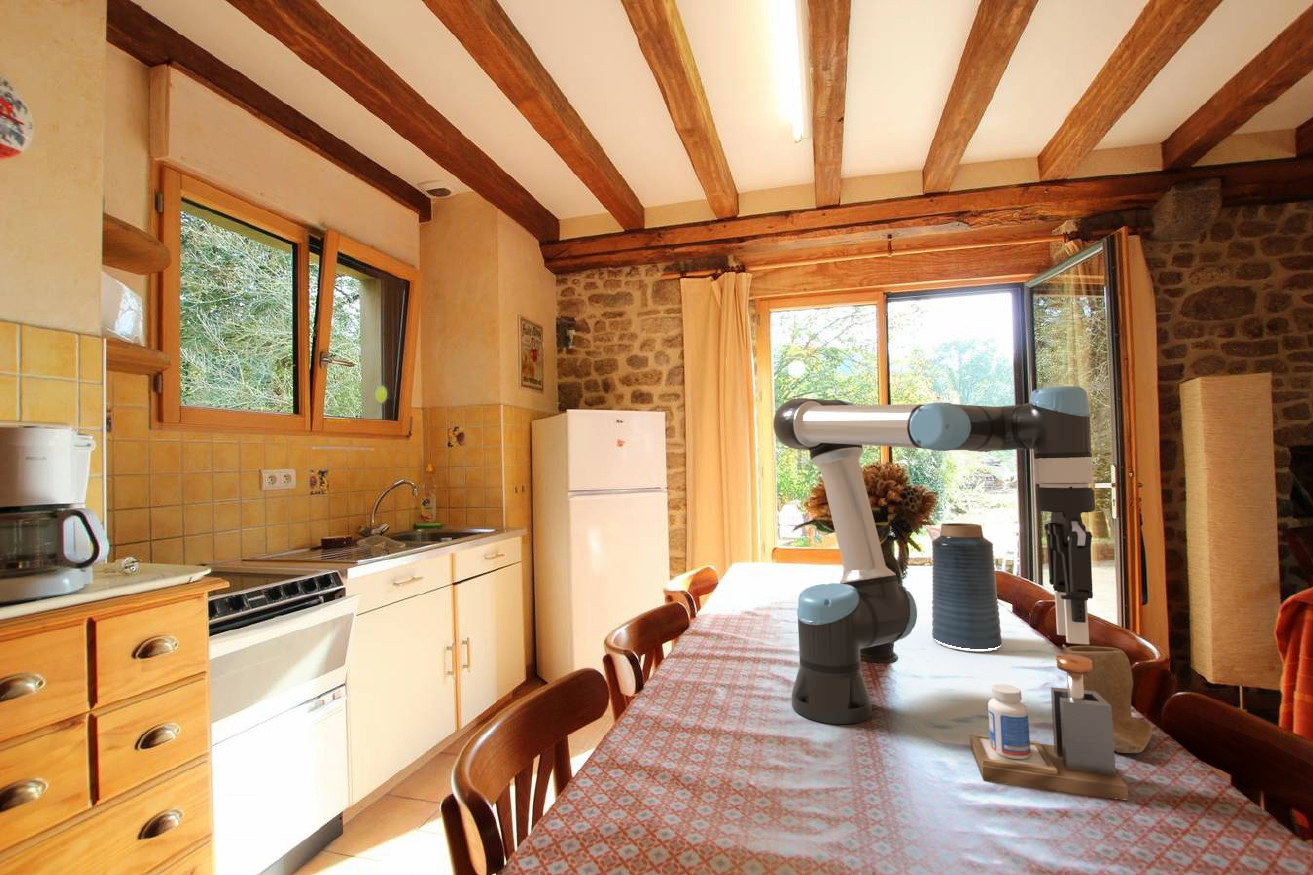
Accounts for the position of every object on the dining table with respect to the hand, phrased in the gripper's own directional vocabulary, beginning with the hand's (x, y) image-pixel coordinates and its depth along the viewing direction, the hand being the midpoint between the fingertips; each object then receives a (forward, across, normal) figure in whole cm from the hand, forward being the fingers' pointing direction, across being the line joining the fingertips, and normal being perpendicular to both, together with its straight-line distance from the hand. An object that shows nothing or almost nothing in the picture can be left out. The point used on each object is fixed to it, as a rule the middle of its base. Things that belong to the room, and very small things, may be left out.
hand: (1072, 638), depth 89 cm
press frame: (+19, 0, 0) cm, 19 cm away
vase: (+21, +69, +5) cm, 72 cm away
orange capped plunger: (+15, 0, 0) cm, 15 cm away
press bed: (+21, 0, +5) cm, 21 cm away
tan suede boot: (+21, +17, -9) cm, 28 cm away
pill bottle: (+19, 0, +9) cm, 21 cm away
